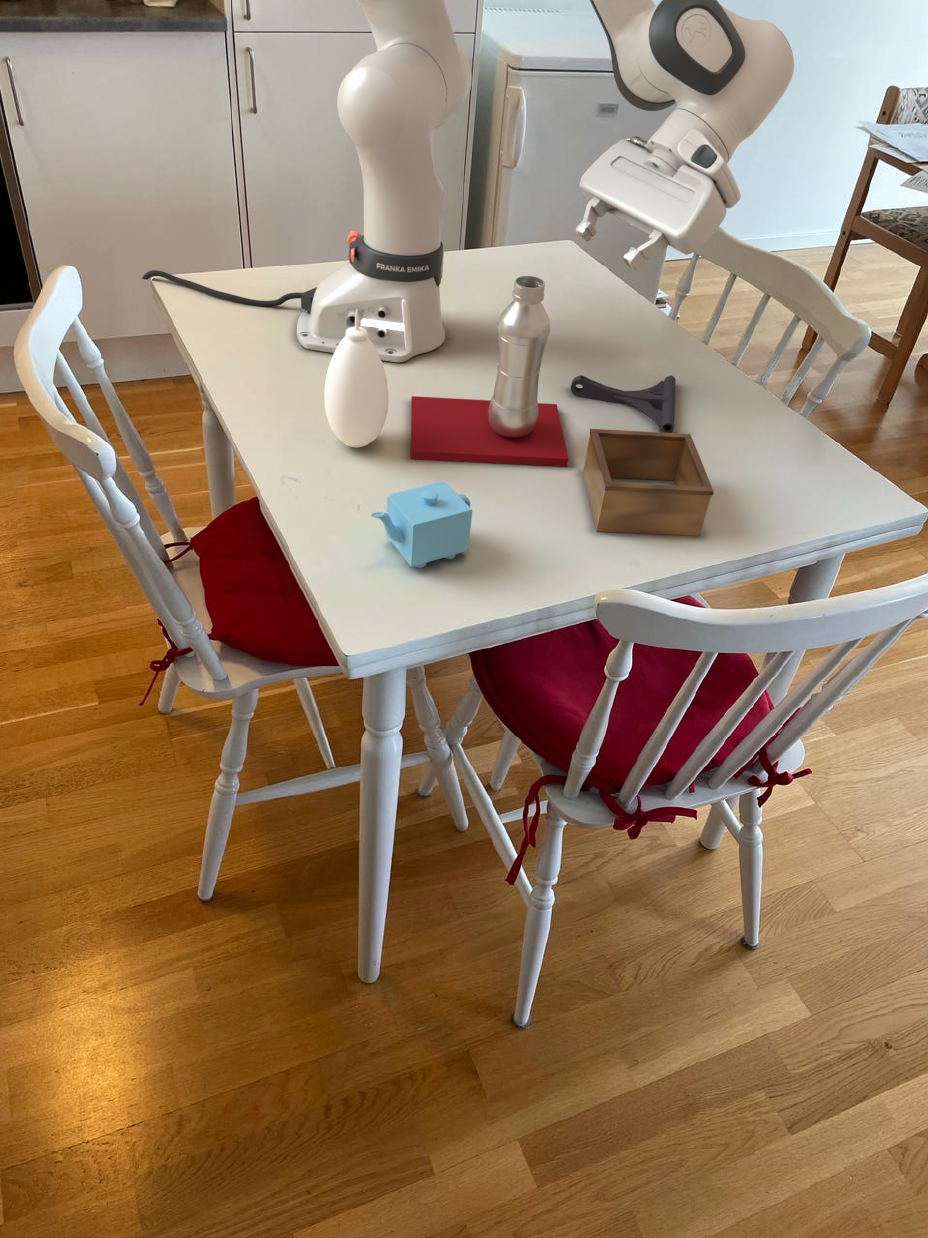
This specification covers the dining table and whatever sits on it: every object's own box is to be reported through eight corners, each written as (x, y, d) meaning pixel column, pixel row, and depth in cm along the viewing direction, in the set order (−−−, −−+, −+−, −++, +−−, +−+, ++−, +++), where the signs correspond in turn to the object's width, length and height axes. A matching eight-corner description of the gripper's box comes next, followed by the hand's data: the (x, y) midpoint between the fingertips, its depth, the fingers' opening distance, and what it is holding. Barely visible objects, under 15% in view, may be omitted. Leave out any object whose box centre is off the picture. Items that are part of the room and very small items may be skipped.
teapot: (382, 581, 102) (384, 524, 97) (358, 549, 106) (359, 493, 101) (479, 553, 107) (485, 498, 102) (452, 524, 111) (457, 469, 106)
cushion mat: (410, 459, 121) (411, 450, 120) (411, 403, 131) (411, 395, 131) (567, 466, 123) (568, 458, 122) (555, 411, 133) (556, 403, 132)
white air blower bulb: (318, 431, 124) (315, 297, 112) (376, 424, 126) (379, 292, 115) (334, 463, 119) (333, 326, 107) (394, 455, 121) (399, 320, 109)
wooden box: (595, 531, 112) (605, 486, 108) (581, 472, 122) (590, 428, 118) (700, 536, 113) (714, 491, 109) (678, 477, 123) (690, 433, 119)
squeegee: (574, 370, 143) (577, 353, 141) (674, 386, 141) (678, 369, 140) (564, 418, 132) (567, 400, 130) (672, 435, 131) (676, 417, 129)
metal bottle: (544, 428, 127) (567, 280, 114) (520, 449, 122) (541, 298, 109) (501, 412, 129) (519, 265, 116) (476, 433, 125) (492, 283, 111)
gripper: (617, 113, 118) (542, 204, 120) (733, 165, 105) (647, 265, 108) (638, 149, 123) (565, 236, 125) (751, 202, 110) (668, 297, 113)
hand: (604, 250), depth 116 cm, fingers open, 8 cm apart
